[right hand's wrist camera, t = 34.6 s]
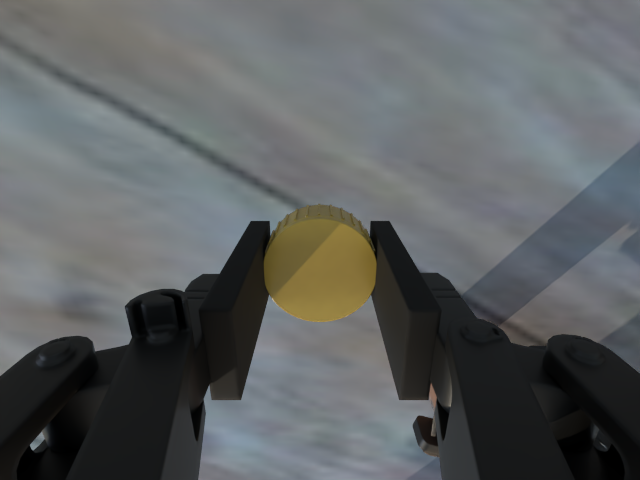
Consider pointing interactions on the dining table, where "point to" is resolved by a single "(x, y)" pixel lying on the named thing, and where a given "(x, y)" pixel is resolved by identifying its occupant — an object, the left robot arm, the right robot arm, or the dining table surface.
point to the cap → (320, 264)
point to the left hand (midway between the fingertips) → (435, 404)
